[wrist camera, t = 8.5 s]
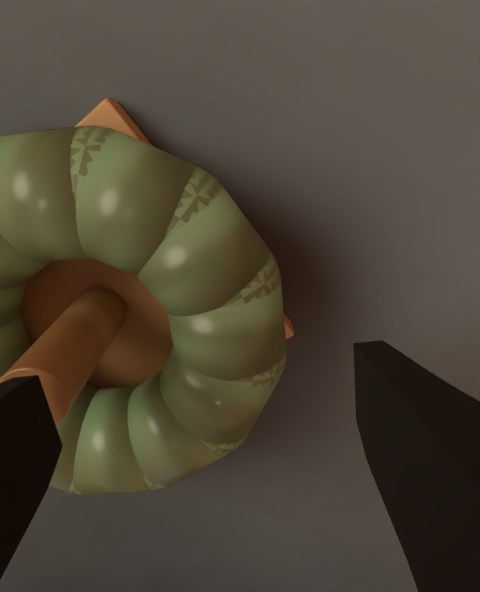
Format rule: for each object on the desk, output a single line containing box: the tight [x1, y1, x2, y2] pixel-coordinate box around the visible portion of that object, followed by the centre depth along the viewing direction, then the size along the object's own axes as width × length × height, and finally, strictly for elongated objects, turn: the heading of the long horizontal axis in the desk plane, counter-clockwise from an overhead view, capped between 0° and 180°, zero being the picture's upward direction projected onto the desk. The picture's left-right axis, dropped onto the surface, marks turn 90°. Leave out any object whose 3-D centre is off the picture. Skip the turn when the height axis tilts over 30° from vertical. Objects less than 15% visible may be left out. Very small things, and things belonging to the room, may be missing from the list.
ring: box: [0, 125, 287, 495], centre depth 14 cm, size 12×12×4 cm
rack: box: [0, 98, 294, 424], centre depth 14 cm, size 10×10×6 cm
